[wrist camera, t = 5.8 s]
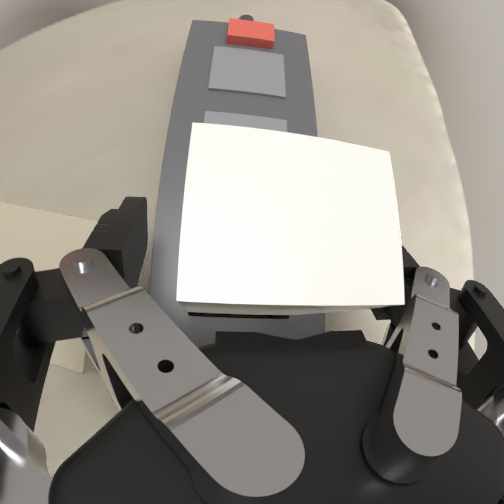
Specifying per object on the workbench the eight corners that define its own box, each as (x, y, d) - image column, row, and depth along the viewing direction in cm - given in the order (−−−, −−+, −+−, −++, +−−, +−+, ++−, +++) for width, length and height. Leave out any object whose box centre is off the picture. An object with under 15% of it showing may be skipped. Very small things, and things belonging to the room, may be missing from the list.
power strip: (155, 370, 16) (144, 385, 12) (197, 20, 21) (200, -14, 17) (302, 372, 17) (329, 384, 13) (291, 32, 22) (304, 0, 19)
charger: (188, 313, 16) (176, 300, 5) (191, 246, 17) (192, 122, 6) (274, 316, 17) (404, 304, 6) (274, 251, 18) (389, 151, 7)
